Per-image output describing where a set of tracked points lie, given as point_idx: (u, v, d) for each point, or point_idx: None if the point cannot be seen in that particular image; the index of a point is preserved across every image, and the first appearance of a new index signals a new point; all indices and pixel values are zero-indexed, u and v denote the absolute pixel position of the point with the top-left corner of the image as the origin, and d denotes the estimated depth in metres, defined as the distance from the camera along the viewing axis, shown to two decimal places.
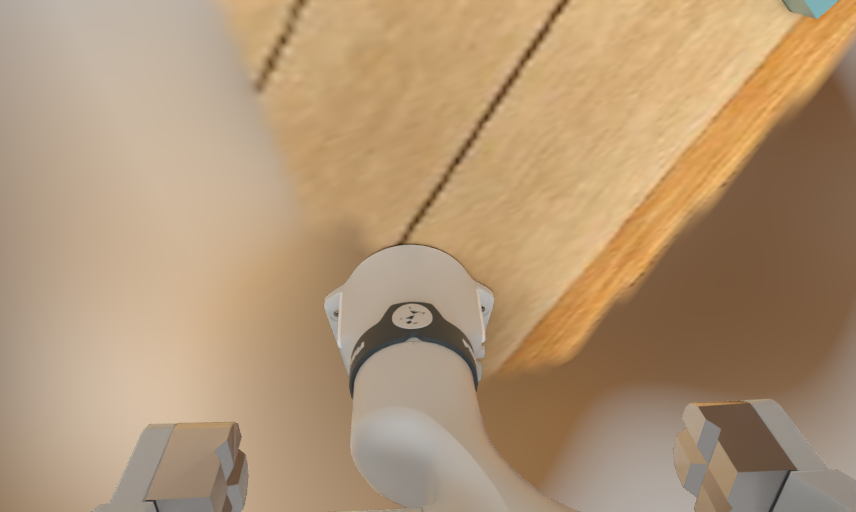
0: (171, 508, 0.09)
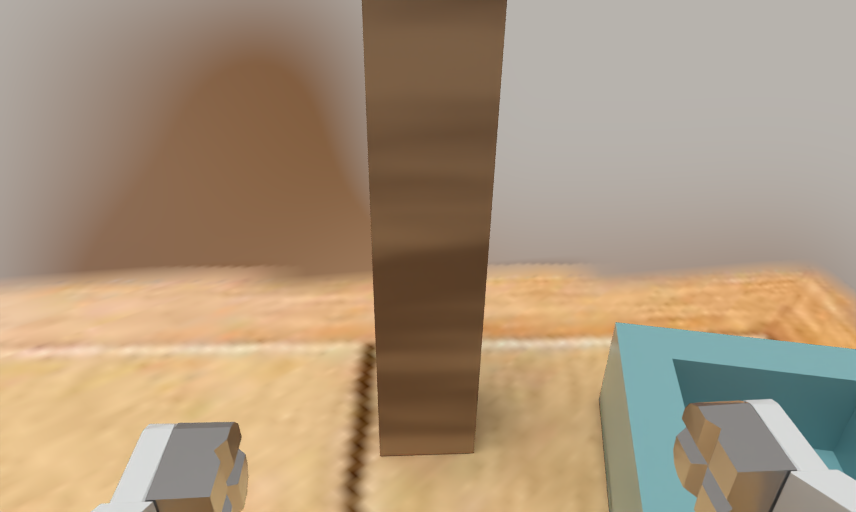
0: (171, 508, 0.09)
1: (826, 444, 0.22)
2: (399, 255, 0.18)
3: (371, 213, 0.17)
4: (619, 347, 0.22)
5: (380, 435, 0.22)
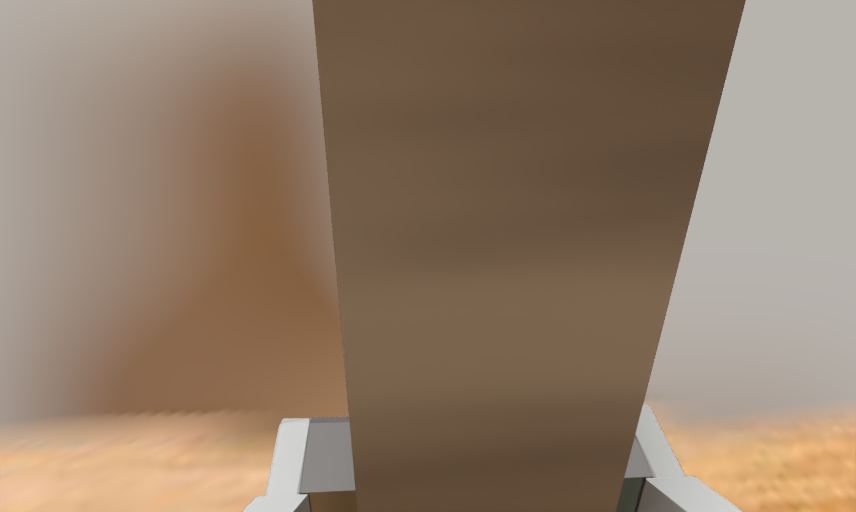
0: (322, 501, 0.09)
1: None
2: None
3: None
4: None
5: None
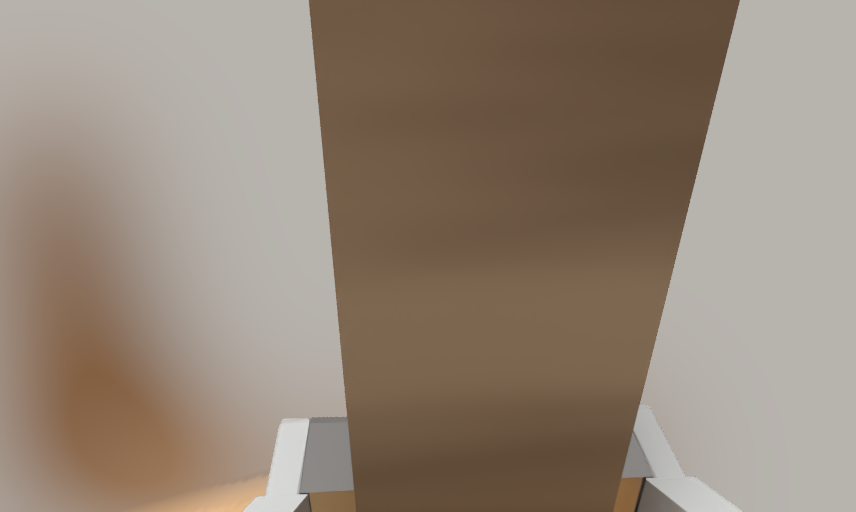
0: (323, 501, 0.09)
1: None
2: None
3: None
4: None
5: None
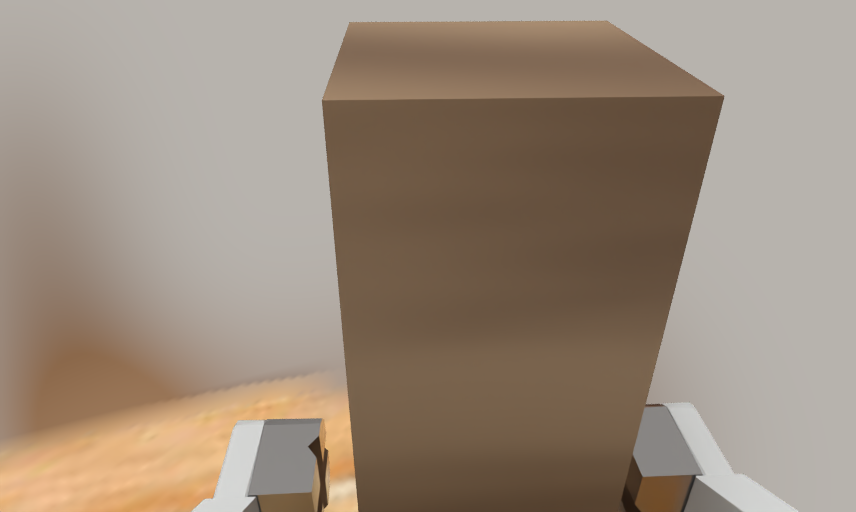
0: (272, 503, 0.09)
1: None
2: None
3: None
4: None
5: None
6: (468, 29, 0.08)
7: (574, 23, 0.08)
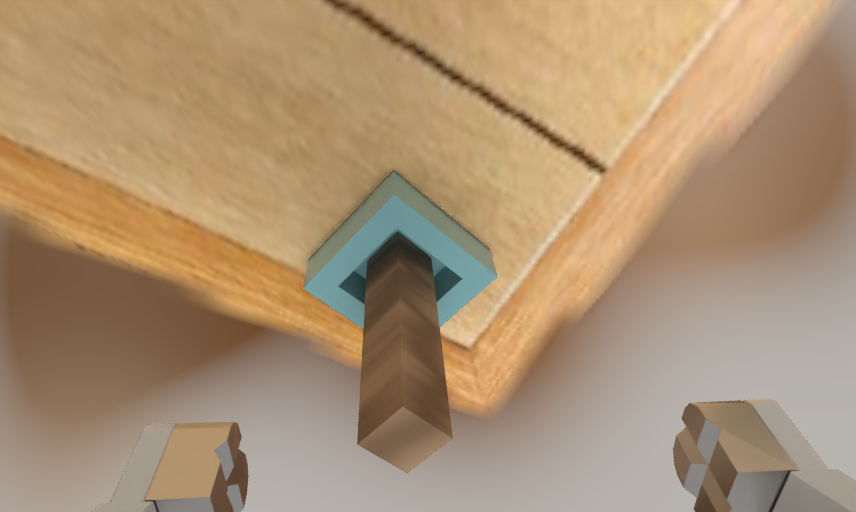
0: (171, 508, 0.09)
1: None
2: (391, 306, 0.39)
3: (399, 312, 0.37)
4: (483, 265, 0.44)
5: (397, 239, 0.45)
6: (424, 449, 0.32)
7: (411, 467, 0.33)
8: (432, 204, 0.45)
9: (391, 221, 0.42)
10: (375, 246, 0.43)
